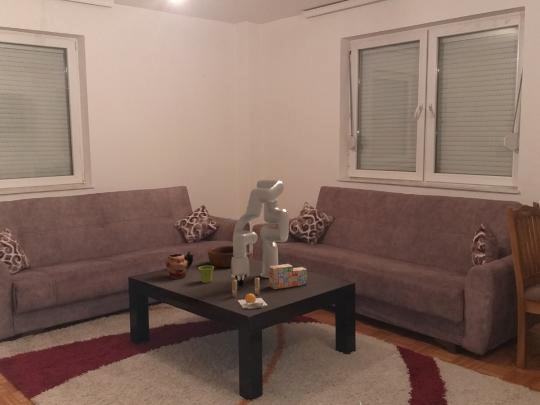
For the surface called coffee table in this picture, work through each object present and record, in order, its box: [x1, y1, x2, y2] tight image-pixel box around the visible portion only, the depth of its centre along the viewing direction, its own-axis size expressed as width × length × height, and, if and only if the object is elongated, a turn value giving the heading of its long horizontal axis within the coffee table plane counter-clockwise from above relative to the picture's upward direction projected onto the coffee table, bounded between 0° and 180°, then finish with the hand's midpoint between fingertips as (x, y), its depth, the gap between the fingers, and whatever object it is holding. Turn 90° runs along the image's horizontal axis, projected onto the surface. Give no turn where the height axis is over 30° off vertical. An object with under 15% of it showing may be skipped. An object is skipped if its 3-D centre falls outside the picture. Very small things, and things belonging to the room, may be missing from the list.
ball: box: [244, 293, 257, 303], centre depth 288 cm, size 6×6×6 cm
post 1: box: [231, 279, 238, 298], centre depth 301 cm, size 3×3×9 cm
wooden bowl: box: [207, 245, 233, 269], centre depth 373 cm, size 25×25×10 cm
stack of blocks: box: [269, 263, 308, 290], centre depth 321 cm, size 21×6×12 cm, turn 113°
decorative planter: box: [165, 253, 188, 279], centre depth 344 cm, size 20×12×14 cm, turn 40°
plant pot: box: [198, 265, 215, 284], centre depth 332 cm, size 9×9×9 cm
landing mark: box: [237, 297, 268, 309], centre depth 290 cm, size 13×13×1 cm
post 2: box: [254, 277, 261, 296], centre depth 304 cm, size 3×3×9 cm
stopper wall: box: [246, 302, 264, 310], centre depth 282 cm, size 8×2×2 cm, turn 106°
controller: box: [183, 251, 194, 269], centre depth 366 cm, size 4×12×10 cm, turn 133°
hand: (240, 286), depth 315 cm, fingers closed
